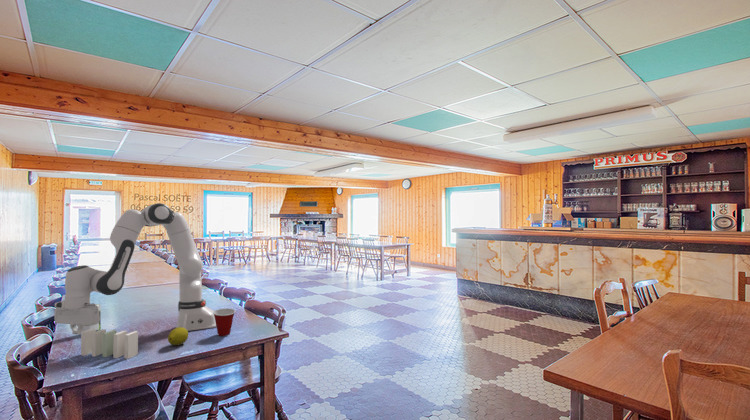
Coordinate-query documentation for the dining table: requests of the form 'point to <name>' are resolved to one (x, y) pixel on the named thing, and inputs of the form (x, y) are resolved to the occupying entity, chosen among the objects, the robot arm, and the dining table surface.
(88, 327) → the syrup box
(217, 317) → the plastic cup
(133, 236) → the robot arm
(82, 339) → the domino
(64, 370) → the dining table surface
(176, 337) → the lemon
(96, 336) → the domino
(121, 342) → the domino
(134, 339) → the domino
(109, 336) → the domino
